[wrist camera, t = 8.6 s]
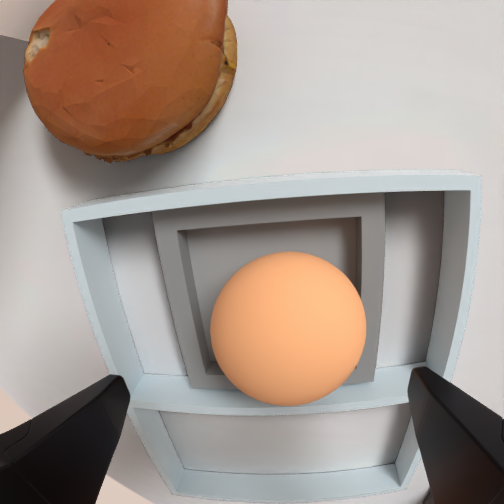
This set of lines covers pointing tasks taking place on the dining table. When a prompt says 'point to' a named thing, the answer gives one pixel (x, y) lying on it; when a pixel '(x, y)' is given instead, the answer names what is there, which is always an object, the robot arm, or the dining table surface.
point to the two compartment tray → (235, 401)
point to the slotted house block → (20, 17)
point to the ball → (288, 328)
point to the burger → (130, 73)
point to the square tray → (260, 244)
